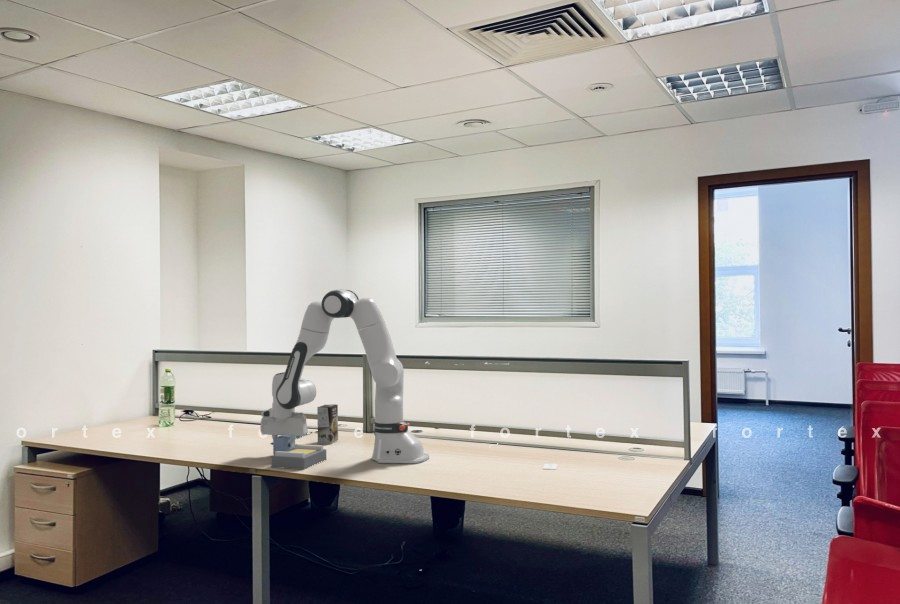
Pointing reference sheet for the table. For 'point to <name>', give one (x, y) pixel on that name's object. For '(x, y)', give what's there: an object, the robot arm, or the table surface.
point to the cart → (281, 443)
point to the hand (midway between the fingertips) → (284, 446)
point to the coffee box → (327, 424)
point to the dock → (299, 456)
